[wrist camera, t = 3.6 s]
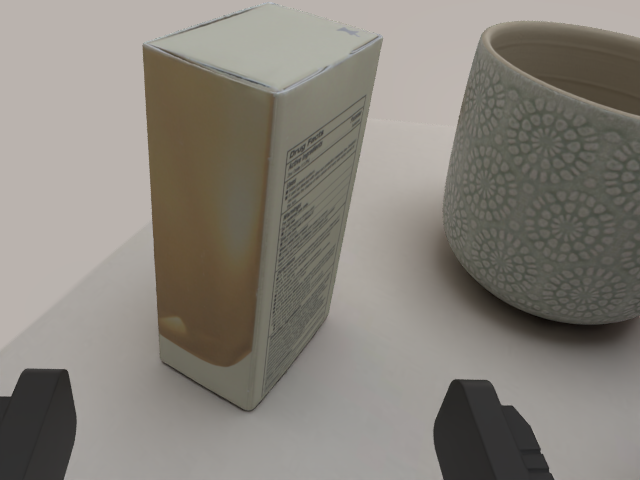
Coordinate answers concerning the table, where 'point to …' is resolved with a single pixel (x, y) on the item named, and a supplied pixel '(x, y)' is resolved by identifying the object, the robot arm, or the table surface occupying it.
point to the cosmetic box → (251, 186)
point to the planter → (550, 171)
